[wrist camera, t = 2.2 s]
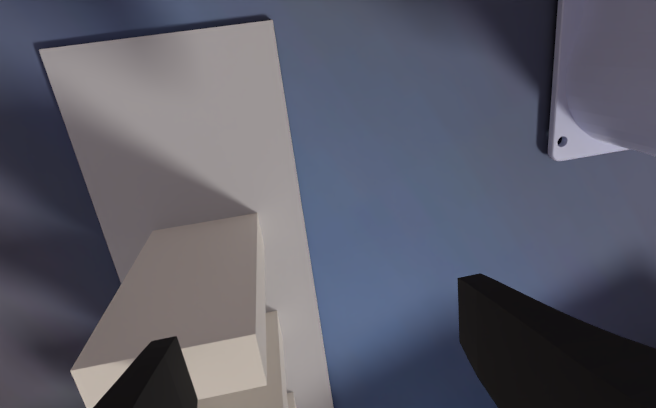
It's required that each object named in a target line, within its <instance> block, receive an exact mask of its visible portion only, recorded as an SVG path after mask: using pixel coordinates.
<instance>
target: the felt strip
mask: <svg viewBox="0 0 656 408" xmlns="http://www.w3.org/2000/svg"><path fill="white" fill-rule="evenodd" d="M39 52H40V55H41V58H42V60H43V63H44V66H45V69H46V72H47V75H48V77H49V80H50V83H51V86H52V89H53V92H54V94H55V97H56V100H57V103H58V106H59V109H60V112H61V114H62V117H63V120H64V123H65V126H66V129H67V131H68V134H69V137H70V140H71V143H72V146H73V148H74V151H75V154H76V157H77V160H78V163H79V166H80V168H81V171H82V174H83V177H84V180H85V183H86V185H87V188H88V191H89V194H90V197H91V200H92V202H93V205H94V208H95V211H96V214H97V217H98V220H99V222H100V225H101V228H102V231H103V234H104V237H105V239H106V242H107V245H108V248H109V251H110V254H111V256H112V259H113V262H114V265H115V268H116V271H117V274H118V276H119V279H120V282H121V284H122V282H123V280H124V279H125V277H126V275H127V274H128V272H129V270H130V268H131V267H132V265H133V263H134V262H135V260H136V258H137V257H138V255H139V253H140V251H141V250H142V248H143V246H144V245H145V243H146V241H147V240H148V238H149V236H150V234H151V233H152V231H154V230H160V229H166V228H172V227H177V226H183V225H189V224H195V223H201V222H207V221H213V220H219V219H224V218H230V217H236V216H242V215H248V214H254V213H258V218H259V223H260V228H261V233H262V238H263V243H264V260H265V307H266V313H267V312H272V311H277V313H278V318H279V323H280V328H281V333H282V338H283V350H284V363H285V376H286V389H287V393H290V392H293V393H294V398H295V403H296V408H334V407H333V401H332V395H331V388H330V382H329V376H328V369H327V363H326V357H325V350H324V344H323V338H322V331H321V325H320V319H319V312H318V306H317V300H316V293H315V287H314V280H313V274H312V268H311V261H310V255H309V249H308V242H307V236H306V230H305V223H304V217H303V211H302V204H301V198H300V192H299V185H298V179H297V173H296V166H295V160H294V153H293V147H292V141H291V134H290V128H289V122H288V115H287V109H286V103H285V96H284V90H283V84H282V77H281V71H280V65H279V58H278V52H277V46H276V39H275V33H274V26H273V20H268V21H260V22H252V23H244V24H236V25H229V26H221V27H213V28H205V29H197V30H189V31H181V32H173V33H165V34H157V35H149V36H142V37H134V38H126V39H118V40H110V41H102V42H94V43H86V44H78V45H70V46H62V47H55V48H47V49H39Z"/></svg>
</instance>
